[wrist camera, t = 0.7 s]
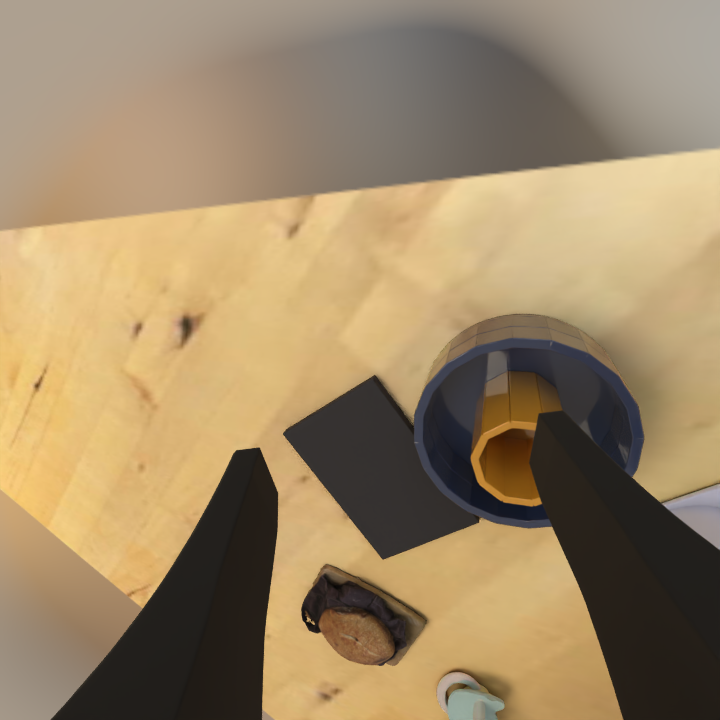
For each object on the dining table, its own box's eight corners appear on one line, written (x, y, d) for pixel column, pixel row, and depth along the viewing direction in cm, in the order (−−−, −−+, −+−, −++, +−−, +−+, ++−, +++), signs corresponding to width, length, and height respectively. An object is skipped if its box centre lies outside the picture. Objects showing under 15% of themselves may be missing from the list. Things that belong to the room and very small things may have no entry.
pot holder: (479, 515, 36) (479, 522, 35) (384, 553, 40) (382, 560, 40) (374, 374, 34) (372, 379, 33) (286, 429, 38) (282, 433, 38)
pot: (660, 435, 30) (687, 481, 26) (487, 505, 36) (485, 552, 31) (555, 274, 28) (566, 293, 24) (391, 374, 34) (374, 404, 29)
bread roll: (431, 614, 42) (425, 652, 38) (393, 664, 45) (385, 702, 42) (327, 557, 42) (312, 589, 39) (298, 610, 46) (283, 643, 43)
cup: (577, 419, 31) (597, 482, 24) (503, 453, 33) (503, 518, 27) (534, 356, 30) (543, 404, 24) (461, 395, 32) (452, 448, 26)
